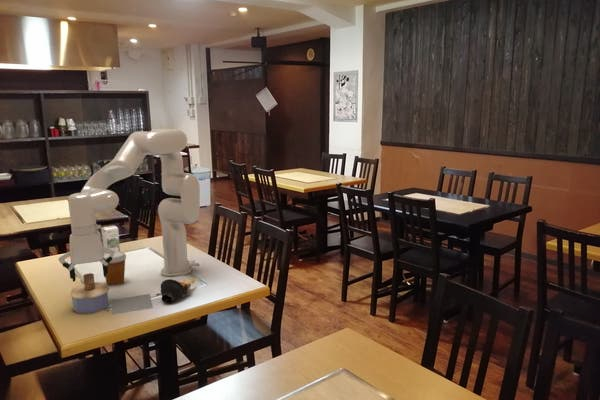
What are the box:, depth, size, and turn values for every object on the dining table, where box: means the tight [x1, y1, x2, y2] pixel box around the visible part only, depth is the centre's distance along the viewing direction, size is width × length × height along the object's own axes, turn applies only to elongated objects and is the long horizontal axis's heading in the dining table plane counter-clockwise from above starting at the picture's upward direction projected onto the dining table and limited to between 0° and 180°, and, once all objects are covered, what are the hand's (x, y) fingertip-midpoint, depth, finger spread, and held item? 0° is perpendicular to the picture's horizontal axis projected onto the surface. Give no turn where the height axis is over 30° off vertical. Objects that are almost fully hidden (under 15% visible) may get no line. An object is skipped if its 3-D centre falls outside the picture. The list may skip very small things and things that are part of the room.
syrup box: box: [101, 225, 121, 253], centre depth 209 cm, size 6×6×14 cm
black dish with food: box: [160, 277, 197, 304], centre depth 165 cm, size 9×11×18 cm
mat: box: [111, 293, 154, 315], centre depth 158 cm, size 13×13×1 cm
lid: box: [70, 272, 110, 299], centre depth 155 cm, size 12×12×6 cm
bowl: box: [71, 291, 109, 314], centre depth 156 cm, size 11×11×6 cm
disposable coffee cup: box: [101, 251, 127, 287], centre depth 177 cm, size 10×10×12 cm
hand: (89, 277), depth 155 cm, fingers open, 9 cm apart
